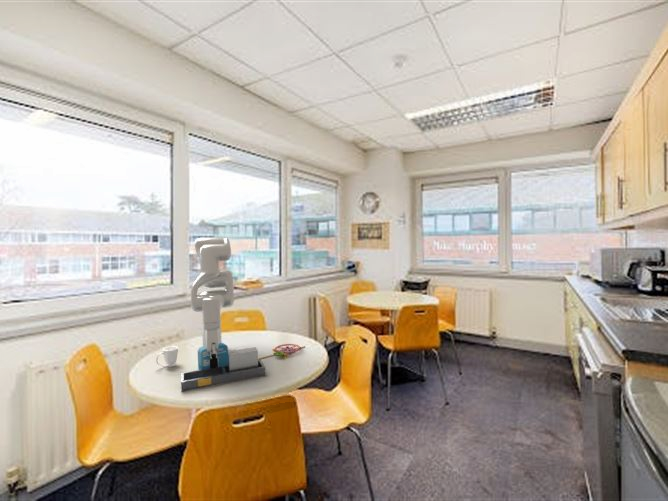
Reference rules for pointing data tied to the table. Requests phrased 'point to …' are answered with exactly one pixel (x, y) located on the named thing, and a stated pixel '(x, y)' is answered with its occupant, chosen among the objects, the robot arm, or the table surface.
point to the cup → (169, 356)
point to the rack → (226, 371)
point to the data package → (205, 357)
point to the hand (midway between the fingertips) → (213, 364)
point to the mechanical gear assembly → (284, 350)
